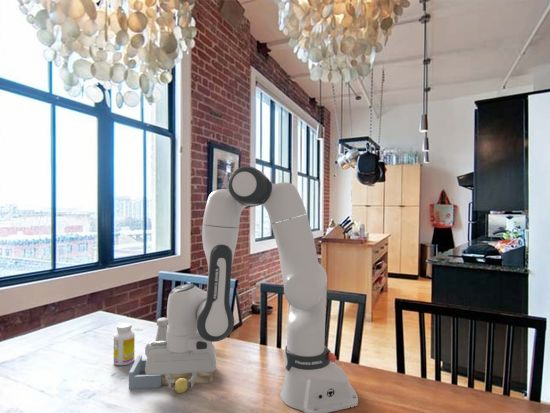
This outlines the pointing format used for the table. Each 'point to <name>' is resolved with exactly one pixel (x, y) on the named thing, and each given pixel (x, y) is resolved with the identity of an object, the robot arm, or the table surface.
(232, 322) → the robot arm
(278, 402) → the table surface
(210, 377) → the tan wooden tray
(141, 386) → the light blue open bin
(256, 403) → the table surface
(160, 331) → the salt shaker
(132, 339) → the supplement bottle
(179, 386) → the ball
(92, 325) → the table surface
